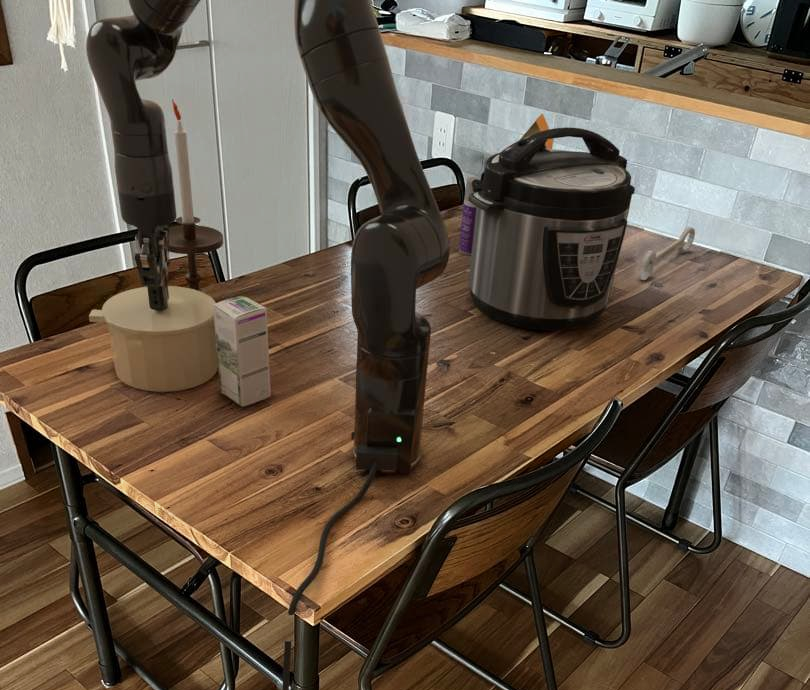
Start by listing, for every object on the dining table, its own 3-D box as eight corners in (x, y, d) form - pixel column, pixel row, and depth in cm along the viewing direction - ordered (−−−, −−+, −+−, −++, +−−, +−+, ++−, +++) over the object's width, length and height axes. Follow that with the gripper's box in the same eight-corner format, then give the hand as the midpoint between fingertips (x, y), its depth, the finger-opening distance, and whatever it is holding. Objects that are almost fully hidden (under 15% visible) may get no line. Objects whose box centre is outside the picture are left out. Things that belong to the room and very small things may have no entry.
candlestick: (179, 336, 143) (154, 109, 121) (156, 311, 150) (129, 93, 128) (238, 324, 148) (225, 104, 126) (213, 301, 155) (196, 89, 133)
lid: (210, 341, 122) (206, 300, 118) (91, 336, 121) (83, 295, 117) (223, 295, 135) (220, 257, 131) (116, 290, 134) (110, 251, 130)
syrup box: (272, 396, 129) (269, 306, 120) (240, 408, 125) (234, 316, 116) (250, 382, 132) (245, 293, 123) (218, 393, 128) (211, 302, 119)
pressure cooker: (453, 330, 152) (474, 140, 132) (460, 272, 174) (479, 103, 154) (620, 347, 151) (666, 159, 131) (606, 287, 173) (643, 118, 153)
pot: (229, 394, 128) (224, 336, 123) (87, 389, 127) (76, 330, 121) (239, 348, 141) (236, 293, 135) (110, 343, 139) (101, 287, 133)
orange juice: (507, 204, 213) (519, 117, 200) (515, 194, 219) (527, 110, 207) (538, 209, 211) (551, 122, 199) (544, 199, 218) (558, 115, 205)
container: (456, 253, 183) (464, 180, 173) (461, 246, 186) (469, 175, 177) (477, 256, 182) (486, 184, 173) (482, 249, 185) (491, 178, 176)
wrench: (644, 284, 175) (652, 256, 172) (635, 282, 176) (642, 253, 173) (690, 250, 194) (698, 224, 190) (681, 248, 195) (689, 222, 191)
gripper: (128, 169, 121) (143, 285, 132) (106, 199, 111) (124, 323, 121) (181, 172, 122) (191, 287, 133) (164, 202, 111) (177, 325, 122)
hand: (159, 304), depth 127 cm, fingers closed on lid, 2 cm apart
